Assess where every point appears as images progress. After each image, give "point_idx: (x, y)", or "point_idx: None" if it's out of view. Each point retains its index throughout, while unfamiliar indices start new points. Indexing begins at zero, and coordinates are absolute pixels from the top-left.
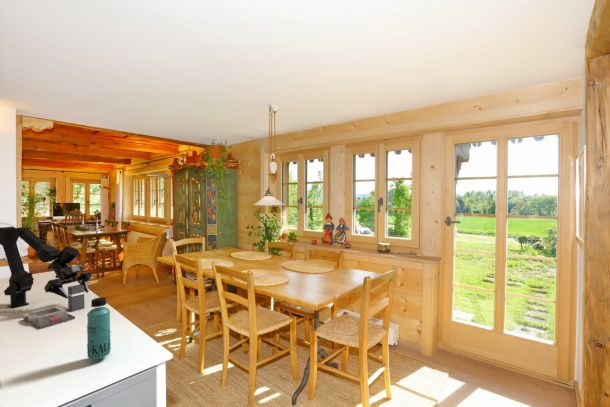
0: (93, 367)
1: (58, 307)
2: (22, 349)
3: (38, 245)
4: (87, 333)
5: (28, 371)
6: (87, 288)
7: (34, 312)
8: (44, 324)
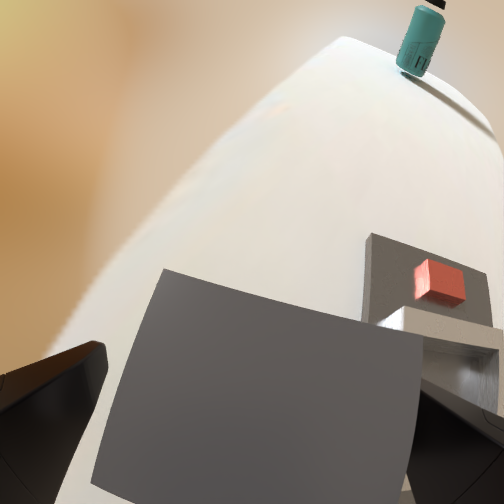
0: None
1: None
2: (501, 195)
3: None
4: (435, 46)
5: (480, 131)
6: (67, 357)
7: None
8: (476, 281)
